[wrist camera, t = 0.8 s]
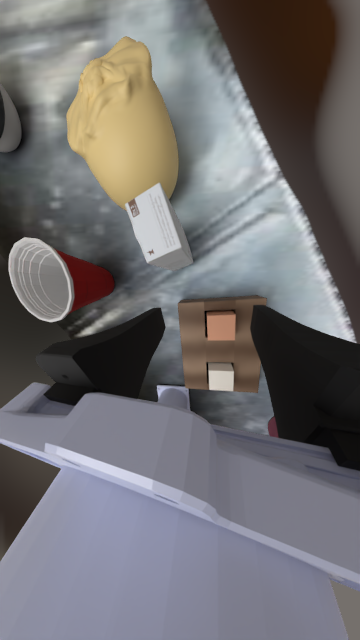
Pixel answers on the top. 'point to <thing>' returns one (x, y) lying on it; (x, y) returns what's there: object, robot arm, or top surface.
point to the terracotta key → (221, 325)
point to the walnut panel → (219, 342)
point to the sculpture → (124, 124)
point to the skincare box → (159, 230)
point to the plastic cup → (54, 280)
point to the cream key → (221, 376)
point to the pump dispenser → (8, 123)
